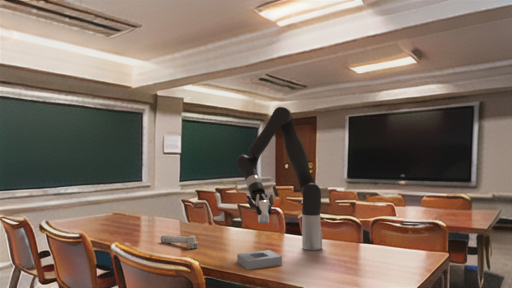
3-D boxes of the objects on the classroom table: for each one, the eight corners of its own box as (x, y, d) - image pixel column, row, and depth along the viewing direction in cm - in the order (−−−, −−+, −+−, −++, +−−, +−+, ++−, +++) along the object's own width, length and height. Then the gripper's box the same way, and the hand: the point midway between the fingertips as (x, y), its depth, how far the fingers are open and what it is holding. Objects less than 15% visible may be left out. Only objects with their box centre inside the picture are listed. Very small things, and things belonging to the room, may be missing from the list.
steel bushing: (266, 220, 171) (266, 199, 171) (270, 222, 166) (270, 201, 167) (256, 221, 169) (256, 200, 169) (261, 223, 164) (260, 201, 165)
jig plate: (269, 257, 164) (269, 249, 164) (281, 264, 153) (281, 256, 153) (237, 261, 157) (237, 253, 157) (247, 269, 146) (247, 261, 146)
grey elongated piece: (166, 234, 198) (199, 233, 183) (167, 246, 197) (200, 246, 183) (159, 236, 194) (191, 235, 179) (160, 248, 193) (192, 248, 178)
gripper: (243, 181, 172) (253, 209, 161) (270, 180, 178) (281, 207, 166) (239, 191, 177) (249, 219, 165) (265, 190, 183) (276, 217, 171)
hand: (265, 213), depth 166 cm, fingers closed on steel bushing, 5 cm apart
